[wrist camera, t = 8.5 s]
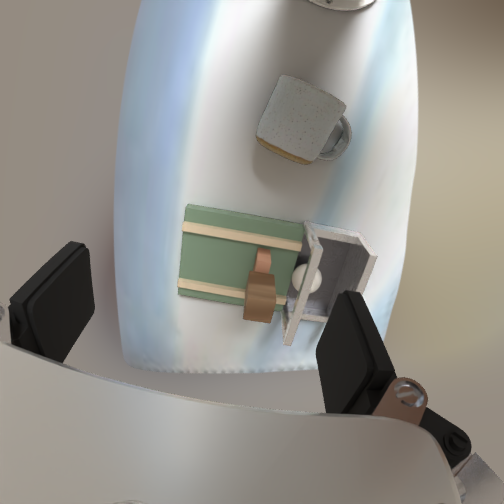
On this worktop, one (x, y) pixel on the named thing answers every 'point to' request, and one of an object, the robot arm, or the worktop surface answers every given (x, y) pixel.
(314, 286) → the ball
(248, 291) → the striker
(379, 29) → the worktop surface
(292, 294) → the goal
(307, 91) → the ceramic mug
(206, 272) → the field
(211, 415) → the robot arm
